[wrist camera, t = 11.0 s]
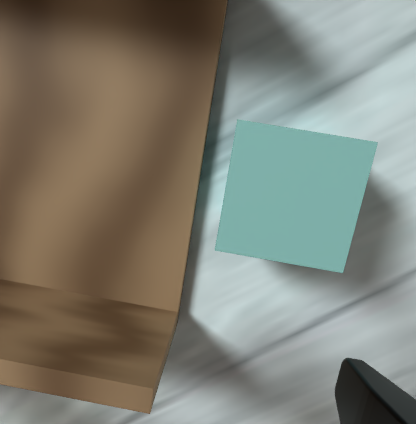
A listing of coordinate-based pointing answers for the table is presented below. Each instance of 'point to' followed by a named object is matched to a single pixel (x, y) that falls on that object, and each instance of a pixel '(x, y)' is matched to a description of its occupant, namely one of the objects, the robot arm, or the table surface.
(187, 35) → the crate
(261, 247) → the block
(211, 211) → the table surface
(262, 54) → the table surface
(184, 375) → the table surface
